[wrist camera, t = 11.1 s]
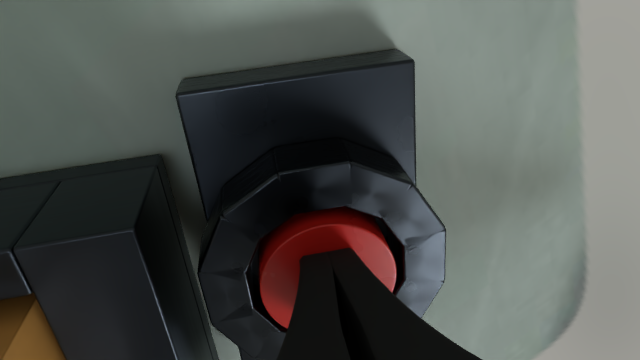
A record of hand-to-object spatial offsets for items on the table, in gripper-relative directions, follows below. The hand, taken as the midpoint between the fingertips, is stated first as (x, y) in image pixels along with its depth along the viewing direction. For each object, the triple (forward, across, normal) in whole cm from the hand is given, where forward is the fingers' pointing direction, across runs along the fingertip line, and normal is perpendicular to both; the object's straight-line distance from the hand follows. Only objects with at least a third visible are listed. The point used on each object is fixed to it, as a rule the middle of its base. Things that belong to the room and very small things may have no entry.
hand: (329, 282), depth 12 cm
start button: (+2, 0, 0) cm, 2 cm away
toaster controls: (+3, 0, 0) cm, 3 cm away
